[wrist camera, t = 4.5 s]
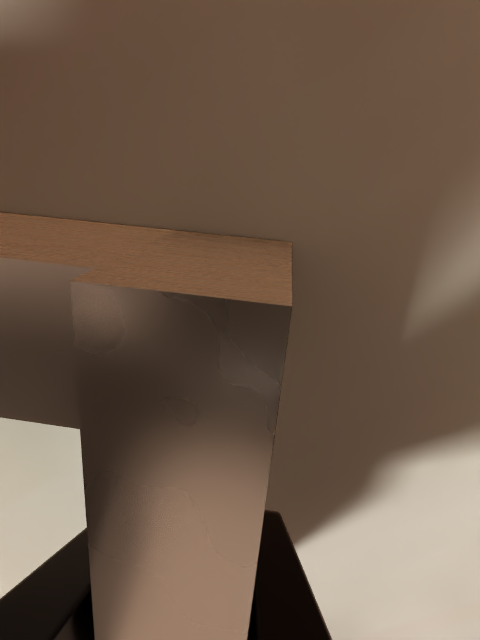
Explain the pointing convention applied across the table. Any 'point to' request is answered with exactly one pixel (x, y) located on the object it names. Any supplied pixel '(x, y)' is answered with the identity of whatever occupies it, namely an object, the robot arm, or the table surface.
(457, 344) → the table surface
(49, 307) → the pale grey angled bracket
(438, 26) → the table surface
